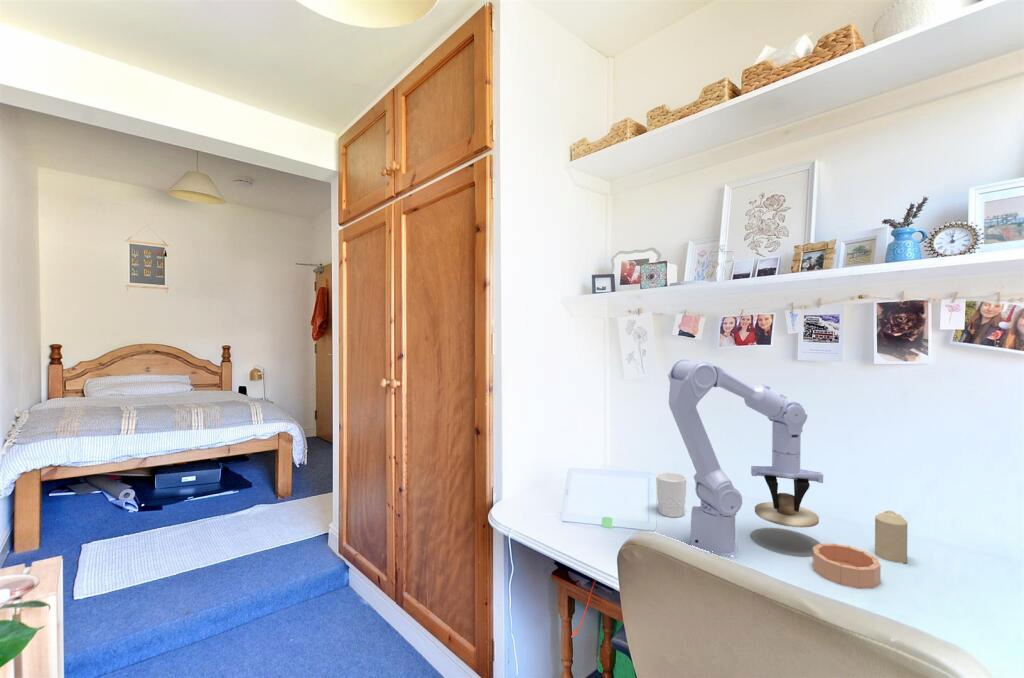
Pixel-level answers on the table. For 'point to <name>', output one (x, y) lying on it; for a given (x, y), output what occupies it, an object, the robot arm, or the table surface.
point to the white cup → (671, 494)
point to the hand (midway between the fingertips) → (785, 508)
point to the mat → (784, 541)
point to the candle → (891, 537)
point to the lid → (786, 512)
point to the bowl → (846, 565)
